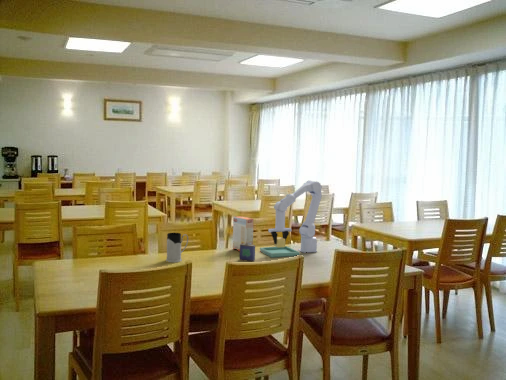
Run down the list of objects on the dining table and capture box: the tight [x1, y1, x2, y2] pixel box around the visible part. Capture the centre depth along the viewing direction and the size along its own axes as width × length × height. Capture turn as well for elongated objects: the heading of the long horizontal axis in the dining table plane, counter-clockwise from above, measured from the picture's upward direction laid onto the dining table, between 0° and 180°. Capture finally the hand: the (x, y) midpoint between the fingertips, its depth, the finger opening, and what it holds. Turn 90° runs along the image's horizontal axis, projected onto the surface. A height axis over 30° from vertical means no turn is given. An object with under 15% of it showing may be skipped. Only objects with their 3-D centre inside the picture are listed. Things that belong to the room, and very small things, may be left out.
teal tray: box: [259, 245, 300, 258], centre depth 279 cm, size 18×18×2 cm
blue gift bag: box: [239, 242, 256, 262], centre depth 259 cm, size 9×3×11 cm, turn 68°
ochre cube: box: [273, 236, 286, 248], centre depth 278 cm, size 5×5×5 cm
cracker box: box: [232, 215, 254, 252], centre depth 284 cm, size 14×6×21 cm, turn 36°
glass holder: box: [165, 232, 189, 263], centre depth 257 cm, size 9×14×15 cm, turn 137°
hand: (279, 243), depth 279 cm, fingers closed on ochre cube, 5 cm apart
